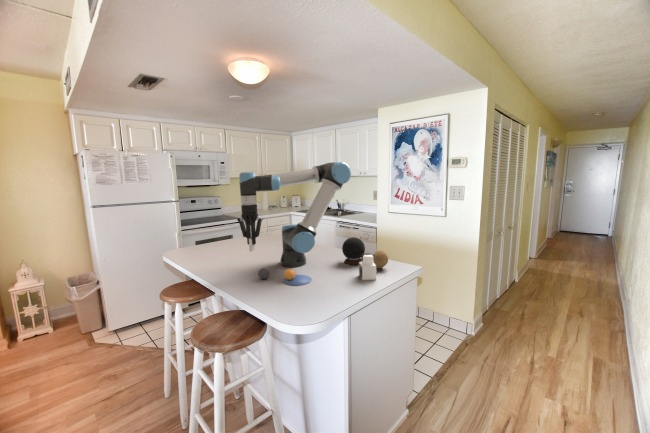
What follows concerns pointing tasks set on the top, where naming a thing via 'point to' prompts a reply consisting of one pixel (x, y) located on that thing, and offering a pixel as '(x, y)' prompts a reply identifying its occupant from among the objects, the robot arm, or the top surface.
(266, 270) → the dark gray ball
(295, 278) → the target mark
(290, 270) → the object ball
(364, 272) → the medicine bottle
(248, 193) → the robot arm
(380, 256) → the tan sphere on base
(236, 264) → the top surface
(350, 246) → the black sphere on pedestal
